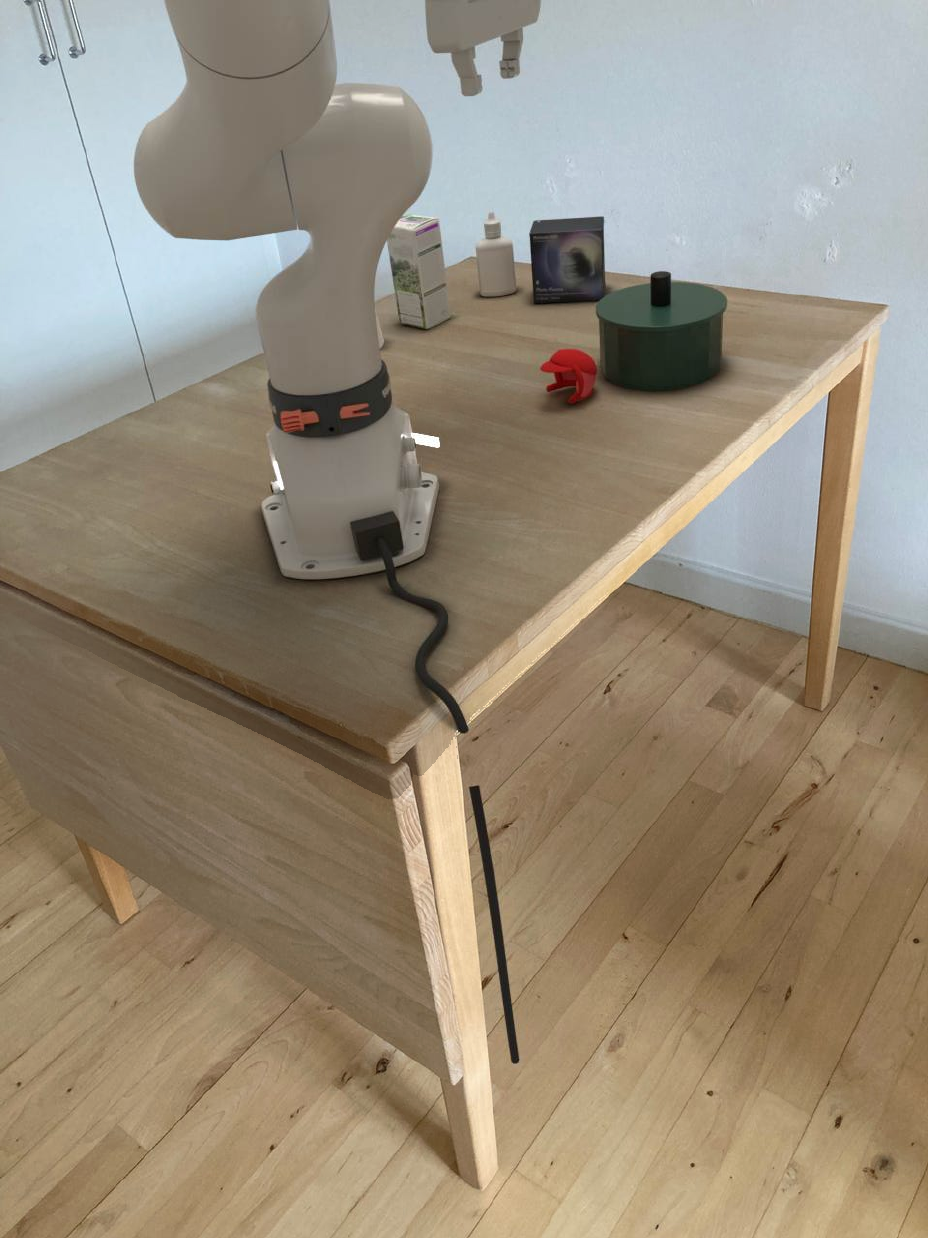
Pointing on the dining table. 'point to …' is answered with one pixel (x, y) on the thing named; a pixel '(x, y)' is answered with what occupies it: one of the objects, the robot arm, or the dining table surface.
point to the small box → (568, 259)
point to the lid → (661, 305)
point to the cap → (572, 372)
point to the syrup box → (419, 271)
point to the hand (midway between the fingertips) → (492, 85)
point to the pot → (661, 356)
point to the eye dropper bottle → (495, 261)
